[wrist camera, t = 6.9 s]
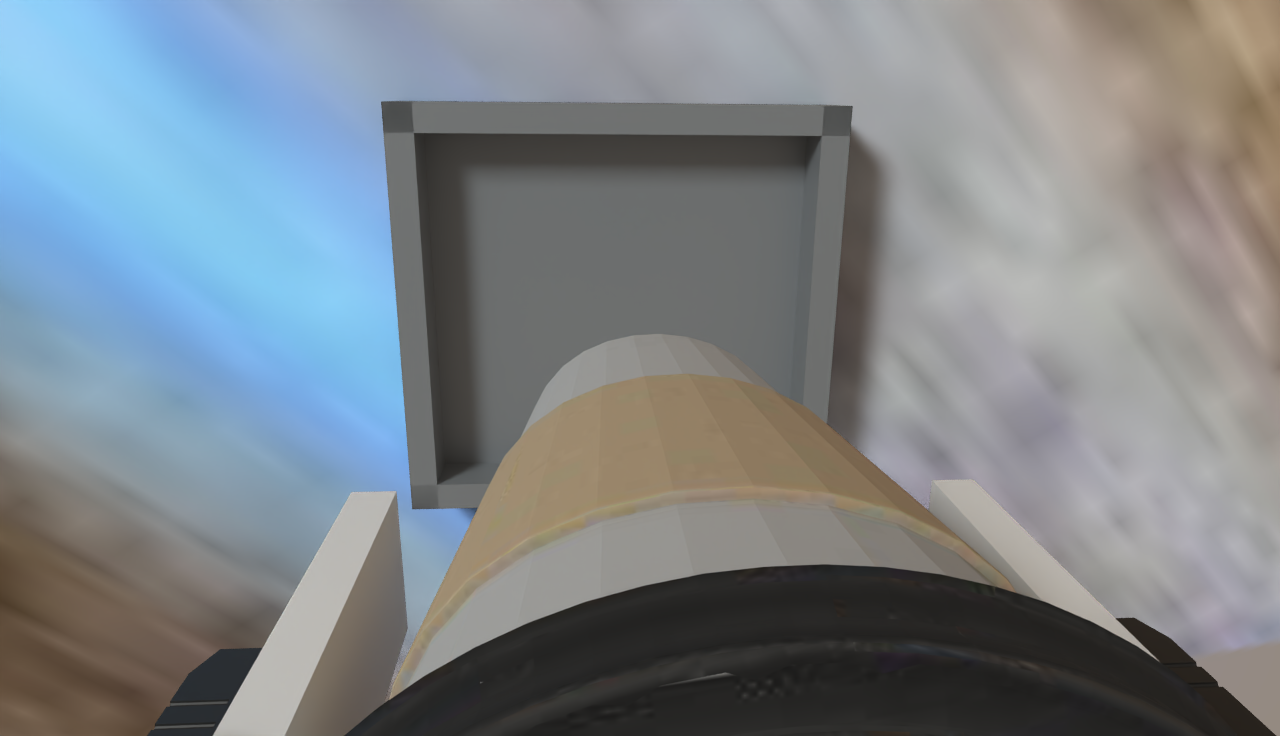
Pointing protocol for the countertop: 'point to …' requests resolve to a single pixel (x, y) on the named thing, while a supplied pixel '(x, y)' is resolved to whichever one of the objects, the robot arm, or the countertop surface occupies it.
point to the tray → (600, 254)
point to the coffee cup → (740, 586)
